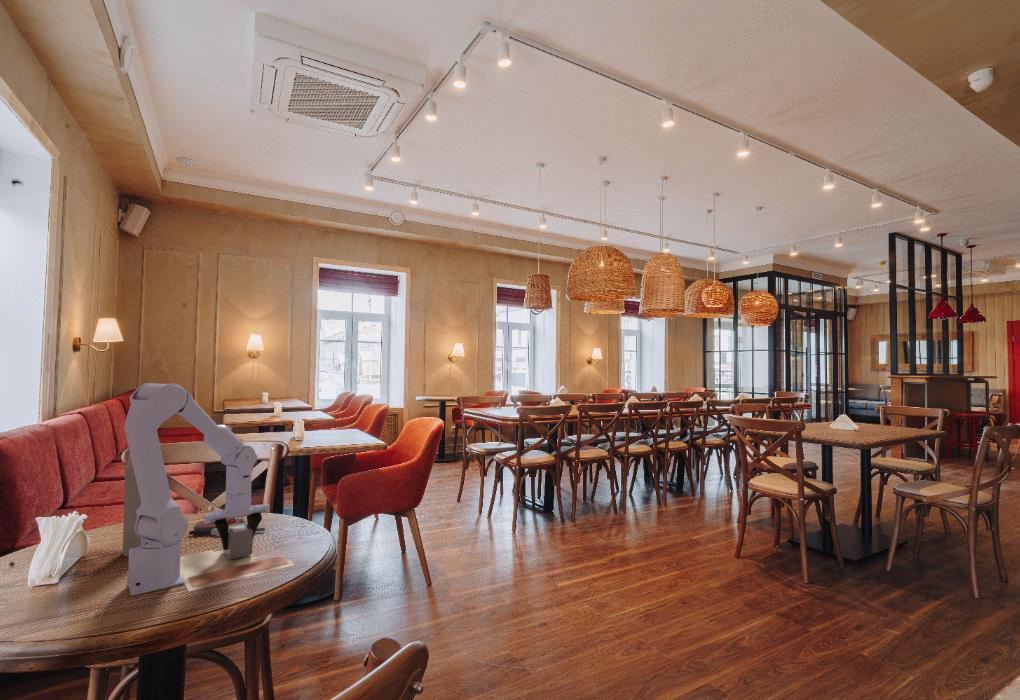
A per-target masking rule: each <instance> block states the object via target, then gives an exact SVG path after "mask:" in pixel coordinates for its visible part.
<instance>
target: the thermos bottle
mask: <svg viewBox="0 0 1020 700" xmlns="http://www.w3.org/2000/svg"><path fill="white" fill-rule="evenodd" d="M127 458H128V459H127V462H128V464H125V466H124V489H123V524H122V526H123V528H122V529H123V532H122V555H123V556H124V557H128V558H129V550H130V549H131V548H135V547H138V546H140V545H141V537H139V536H138V535H137V534H136V532H135V524H136V520H137V514H136V510H137V509H138V508H139V507H140V505H141V499H140V495H139V490H138V486H137V482H136V477H135V473H134V469H133V464H132V460H131V456H130V455H129V456H128V457H127Z"/></svg>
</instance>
